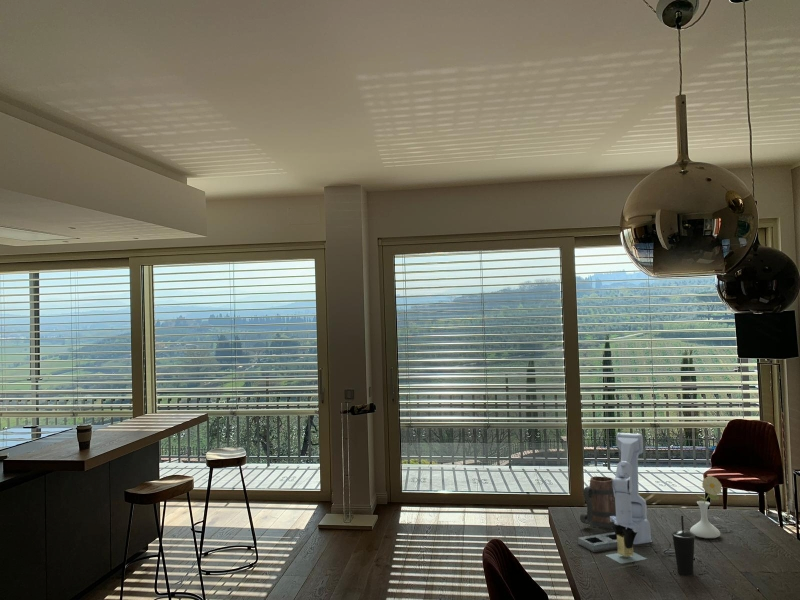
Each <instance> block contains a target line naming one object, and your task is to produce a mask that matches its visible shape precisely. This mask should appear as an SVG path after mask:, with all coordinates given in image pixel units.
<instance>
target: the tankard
mask: <svg viewBox="0 0 800 600" xmlns="http://www.w3.org/2000/svg"><path fill="white" fill-rule="evenodd" d="M613 479H614V478H613V477H609V476H597V475H596V476H595V475H593V476H591V477H590V481H589V486H585V487H584V488H583V493H582V494H583V497H584V500H585V502H586V509H587V510H586V513H581V514H580V516H579V520H580V522H581V524H584V525H587V524H588V525H590V526H589V527H591V526H593V527H592V528H605V529H611V530H613V528H612V525H614V522H610V516H616V506H615V497H614V492H613ZM588 525H587V526H588Z"/></svg>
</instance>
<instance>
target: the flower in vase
mask: <svg viewBox="0 0 800 600" xmlns="http://www.w3.org/2000/svg"><path fill="white" fill-rule="evenodd" d="M701 484H702V489H703V491H705V493H706V494H707V496H706V497H704V496H701V495H699V494H698V493H696V496H697V497H698V498H701V499H703V500H699V501H698V500H697V501H696V503H697V506H698V507H699V510H700V517H701V518H700V520H699V521H698V522H697V523H695V524H694V525H692V526H691V527H690V529H689V532H691V533H693V534H695V537H698V538H704V539H716V538H719V537H720V536H721V531H720V530H719V529H718V528H717V527H716V526H715V525H713V524H712V523H711V522H710V521H709V520H708V508H709V506H710V504H711V503H710V502H709V501H707V499H711V500H712V501H719V500H720V497H719V496H718V494H720V493H722V490H723V486H722V485H723V484H722V483H721V481H719V479H718V478H717V477H715V476H710V475H709V476H707V477H705V478H703V480H702V482H701Z"/></svg>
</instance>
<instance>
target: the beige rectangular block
mask: <svg viewBox="0 0 800 600" xmlns="http://www.w3.org/2000/svg"><path fill="white" fill-rule="evenodd" d="M616 549H617V553H618V554H620V555H622V556H624V557H627V556H633V552H634V546H633V547H632V548H629V549H628V548H627V547H626V540H625V536H624V534H618V535H617V548H616Z"/></svg>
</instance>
